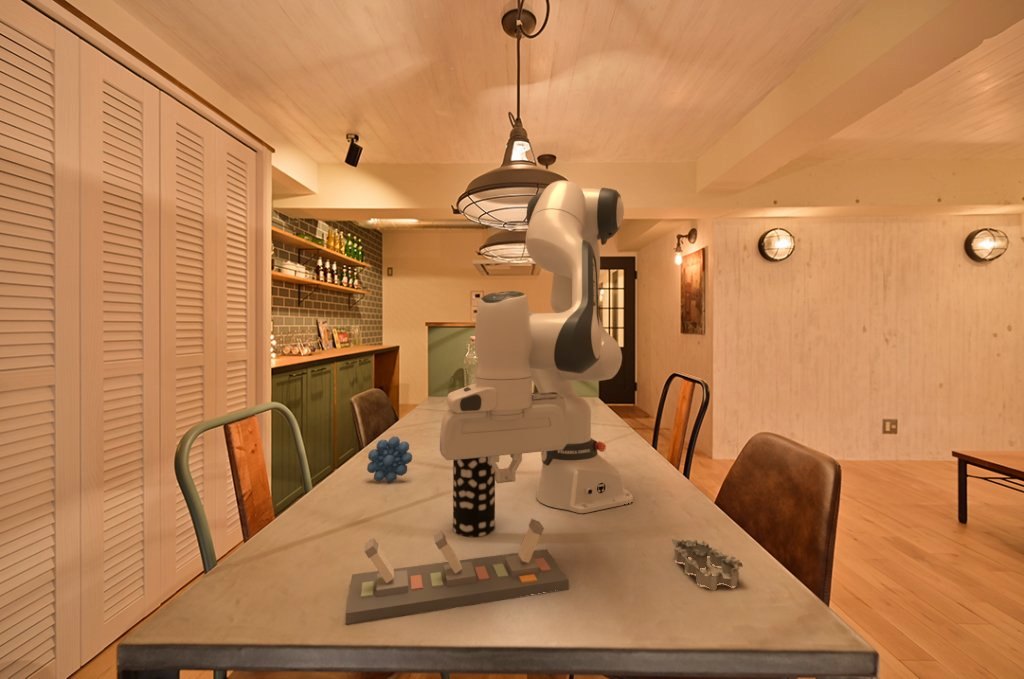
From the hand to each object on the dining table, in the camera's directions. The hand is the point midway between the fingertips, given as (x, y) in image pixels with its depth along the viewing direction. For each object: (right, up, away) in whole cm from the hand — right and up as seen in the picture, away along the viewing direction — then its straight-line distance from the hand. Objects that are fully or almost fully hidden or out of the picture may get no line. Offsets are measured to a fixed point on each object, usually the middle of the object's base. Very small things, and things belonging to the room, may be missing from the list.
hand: (505, 481), depth 71 cm
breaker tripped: (+3, -13, +1) cm, 13 cm away
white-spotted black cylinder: (-7, -15, +19) cm, 25 cm away
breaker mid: (-7, -13, -2) cm, 15 cm away
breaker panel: (-7, -16, -2) cm, 17 cm away
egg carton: (+33, -16, +3) cm, 37 cm away
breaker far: (-17, -13, -5) cm, 22 cm away
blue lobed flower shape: (-31, -15, +46) cm, 58 cm away
